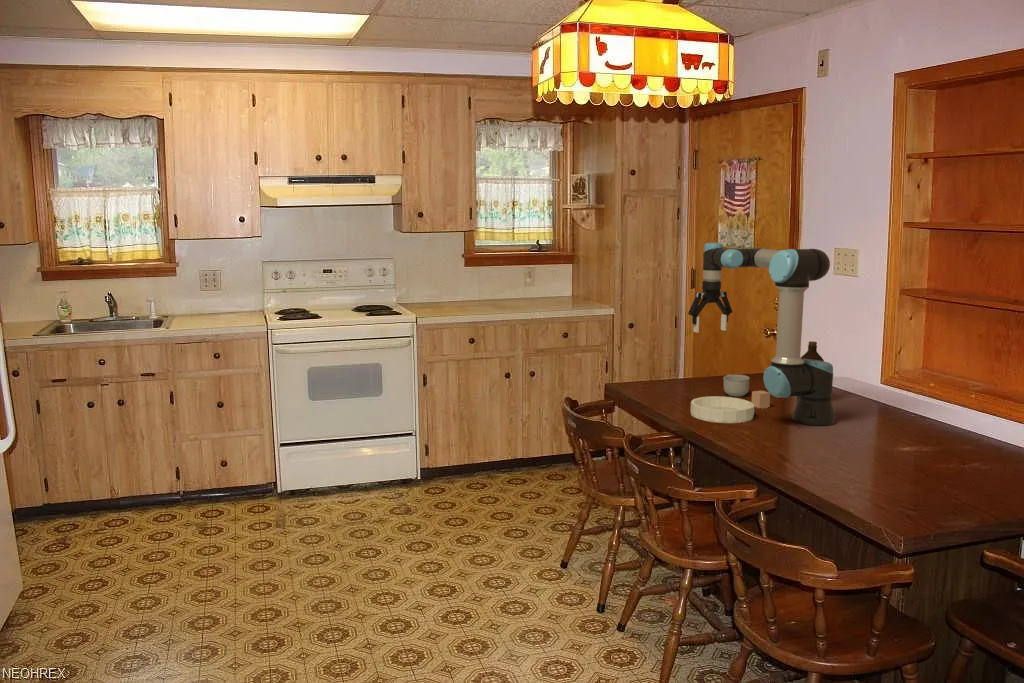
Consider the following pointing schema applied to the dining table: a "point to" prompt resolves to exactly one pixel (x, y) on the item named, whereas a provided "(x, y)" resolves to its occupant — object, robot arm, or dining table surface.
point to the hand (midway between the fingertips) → (709, 331)
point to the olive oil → (811, 354)
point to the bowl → (722, 409)
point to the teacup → (736, 385)
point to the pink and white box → (761, 399)
